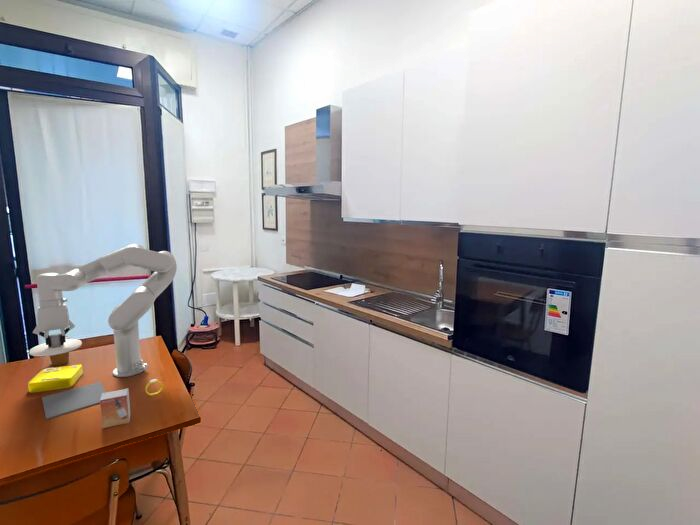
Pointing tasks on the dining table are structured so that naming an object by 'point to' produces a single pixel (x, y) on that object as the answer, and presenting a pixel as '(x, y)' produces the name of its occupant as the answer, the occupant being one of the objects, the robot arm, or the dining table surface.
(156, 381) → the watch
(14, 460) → the dining table surface
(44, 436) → the dining table surface
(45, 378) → the element tile
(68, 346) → the lid
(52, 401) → the mat
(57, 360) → the disposable coffee cup
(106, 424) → the small box
